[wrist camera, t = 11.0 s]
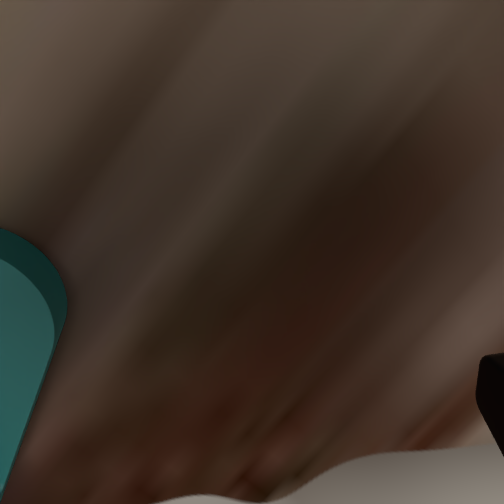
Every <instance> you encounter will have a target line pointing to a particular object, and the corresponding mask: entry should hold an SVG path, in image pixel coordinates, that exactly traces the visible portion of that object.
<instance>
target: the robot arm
mask: <svg viewBox="0 0 504 504" xmlns="http://www.w3.org/2000/svg"><path fill="white" fill-rule="evenodd" d="M476 402H477V405H478V408H479V410H480V412H481V414H482V416H483V418H484V420H485V422H486V424H487V425H488V427H489V429H490V431H491V433H492V435H493V437H494V439H495V441H496V443H497V445H498V447H499V449H500V450H501V452H502V454H503V456H504V353H498V354H491V355H486V356H484V357H482V359H481V360H480V364H479V371H478V378H477V386H476Z"/></svg>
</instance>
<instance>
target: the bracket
mask: <svg viewBox="0 0 504 504" xmlns="http://www.w3.org/2000/svg"><path fill="white" fill-rule="evenodd" d="M66 314H67V296H66V292H65V288H64V285H63V282H62V280H61V278H60V276H59V274H58V272H57V270H56V269H55V267H54V266H53V264H52V263H51V262H50V261H49V260H48V258H47V257H46V256H45V255H44V254H43V253H42V252H41V251H40V250H38V249H37V248H36V247H35V246H34V245H32V244H31V243H29V242H28V241H26V240H25V239H23V238H21V237H19V236H18V235H16V234H14V233H11V232H9V231H7V230H4V229H1V228H0V502H1V499H2V496H3V493H4V491H5V488H6V485H7V482H8V479H9V477H10V474H11V471H12V468H13V466H14V463H15V460H16V457H17V454H18V452H19V449H20V446H21V443H22V440H23V438H24V435H25V432H26V429H27V426H28V424H29V421H30V418H31V415H32V412H33V410H34V407H35V404H36V401H37V398H38V396H39V393H40V390H41V387H42V384H43V382H44V379H45V376H46V373H47V371H48V368H49V365H50V362H51V359H52V357H53V354H54V351H55V348H56V345H57V343H58V340H59V337H60V334H61V331H62V329H63V326H64V323H65V319H66Z"/></svg>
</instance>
